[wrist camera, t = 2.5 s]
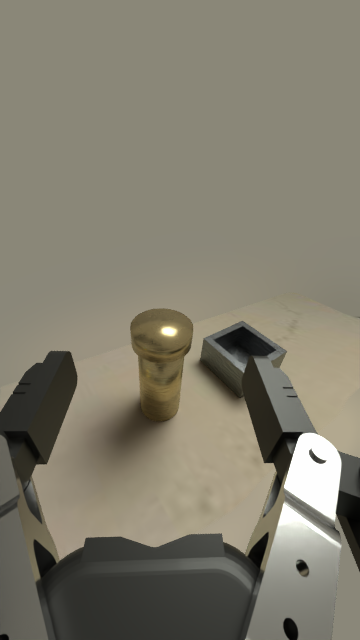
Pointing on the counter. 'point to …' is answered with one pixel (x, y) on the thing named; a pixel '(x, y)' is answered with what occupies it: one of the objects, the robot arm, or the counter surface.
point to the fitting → (160, 359)
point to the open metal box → (237, 353)
